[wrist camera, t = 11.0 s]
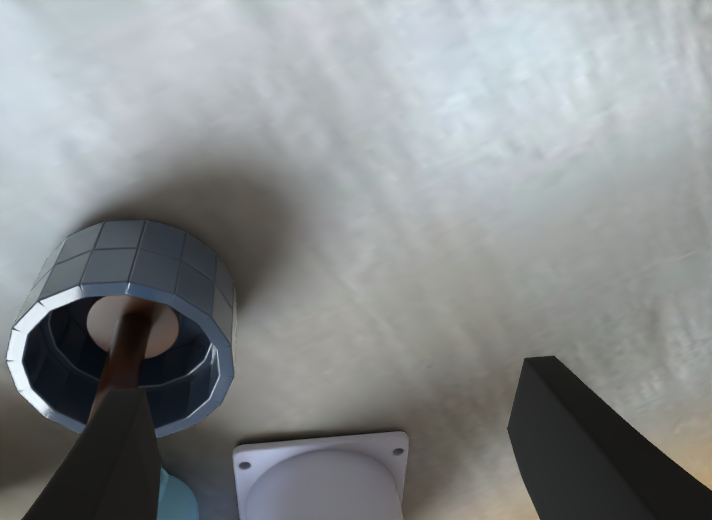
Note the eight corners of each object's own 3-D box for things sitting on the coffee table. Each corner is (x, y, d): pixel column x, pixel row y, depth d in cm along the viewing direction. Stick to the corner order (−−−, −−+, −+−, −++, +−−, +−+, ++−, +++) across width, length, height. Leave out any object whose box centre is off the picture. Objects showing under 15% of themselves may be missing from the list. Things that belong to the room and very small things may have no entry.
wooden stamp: (188, 327, 23) (161, 528, 16) (105, 332, 22) (40, 541, 16) (178, 260, 21) (143, 454, 14) (87, 265, 21) (7, 466, 14)
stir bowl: (242, 353, 24) (240, 431, 21) (68, 364, 24) (38, 448, 20) (229, 208, 21) (224, 276, 17) (22, 215, 20) (-24, 289, 17)
